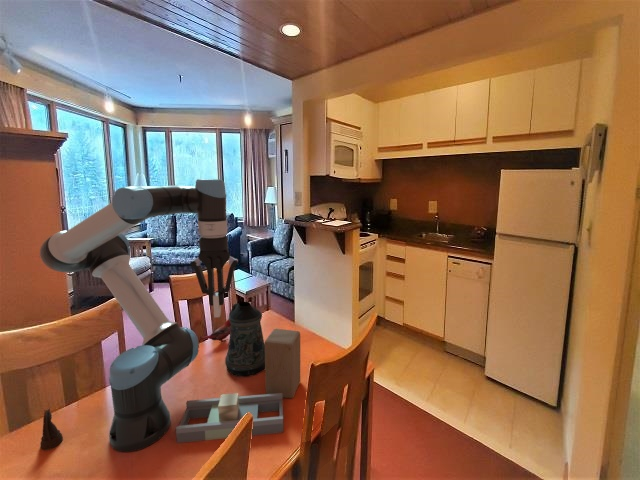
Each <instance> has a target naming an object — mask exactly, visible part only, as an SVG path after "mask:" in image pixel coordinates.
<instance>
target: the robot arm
mask: <svg viewBox="0 0 640 480" xmlns="http://www.w3.org/2000/svg"><path fill="white" fill-rule="evenodd" d="M225 184H226V183H225V181H224V180H222V179H221V178H220V179H214V178H198V179H196V180H195V185H193V186H191V185H174V184H173V185H162V186H161V185H160V186H159V185H157V186H156V185H155V186H154V185H153V186H152V185H150V186H148V185H145V186H144V185H142V186H141V185H140V186H139V185H130V186H122V187H119V188H117V189H116V190H115V191H114V195H112V198H111V202H110V203H109V204H107V205H105V206H104V207H102V208H101V209H99V210H98V211H96V212H94V213H93V214H91V215H89V216H88V217H86V218H85V219H84V220H82V221H80V222H79V223H77V224H76V225H74V226H73V227H71V228H69V229H68V230H61V231H58V232H56V233H54V234H52V235H50V236H49V237H47V239H45V241H44V242H43V243H42V244H41V246H40V249H39V257H40V259H41V261H42V263H43V264H44V265H45V266H46V267H48V268H49V269H51V270H53V271H55V272H59V273H76V272H81V271H84V270H88V271H89V273H90V274H91V275H92V277H94V278H99V279H101V280H102V281H103V283H104V284H105V285H106V287H107V289H109V291H110V292H111V294H112V296H113V297H114V298H115V300H116V301H117V302H118V304H119V305H120V307H121V308H122V309H123V312H124V313H125V315H127V316H128V319H129V320H130V321H131V323H132V324H133V325H134V327H135V328H136V329H137V331H138V332H139V335H141V337H142V338H143V340H142V345H137V346H136V347H131V348H129V349H127V350H124V351H123V352H121V353H120V354H118V355H117V356H116V357H115V359H113V361H112V362H111V364H110V367H109V377H108V378H109V379H108V380H109V381H108V382H109V385H110V390H111V398H112V399H111V400H112V405H113V411H114V412H113V413H114V414H113V417H112V418H113V419H112V422H111V425H110V429H109V434H108V436H109V444H110V447H111V448H112V449H113V450H115V451H117V452H121V453H129V452H135V451H139V450H142V449H144V448H147V447H149V446H151V445H152V444H154V443H156V442H157V441H159V440H160V439H161V438H162V437H163V436H165V434H166V433H167V431H168V430H169V428H170V426H171V413H170V410H169V409H168V407H167V405H166V403H165V401H164V399H163V397H162V386H163V385H164V384H165V383H167V382H168V381H170V380H171V379H172V378H173V377H175V376H176V375H177V374H179V373H180V372H181V371H183V370H184V369H186V368H187V367H188V366H190V364H191V363H193V361H194V360H196V358H197V356H198V354H199V352H200V351H199V348H200V343H199V342H200V341H199V338H198V336H197V334H196V333H195V332H194V331H193V330H192V329H191V328H188V327H185V326H184V327H181V326H180V325H179V324H178V322H176V321H170V320H169V319H168V317H167V316H166V314H165V313H164V312H163V310H162V309H161V307H160V306H159V304H158V303H157V302H156V300H155V299H154V297H153V296H152V295H151V293H150V292H149V290H148V289H147V288H146V286H145V285H144V284H143V282H142V281H141V279H140V278H139V276H138V275H137V273H136V272H135V271H134V269H133V267H131V265H130V261H131V256H130V254H131V247H130V245H131V244H130V242H129V239H128V237H126V236H125V234H123V233H125V232H127V231H128V230H130V229H131V228H133V227H135V226H137V225H138V224H140V223H143V222H144V221H145V220H147V219H150V218H152V217H159V216H167V215H176V214H195V215H196V214H197V227H198V228H197V229H198V235H199V238H198V244H199V253H198V257H197V258H193V259H192V260H191V262H190V264H189V265H190V266H191V267H192V268H193V270H194V272H195V276H196V279H197V281H198V284H199V287H200V290H201V293H202V294H207V295H208V296H209V297H208V299H209V301H208V302H209V305H210V306H212V308H213V318H220V317H221V314H222V306H224V304H225V295H224V294H227V293H229V292H230V289H231V286H232V280H233V276H234V273H235V269H236V268H235V267H236V266H237V265H238V263H239V259H238V258H235V257H233V256H231V253H230V251H229V238H228V236H227V234H228V219H227V193H226V185H225ZM227 262H228V265H229V270H228V273H227V278H226V283H225V284H224V282H225V281H224V266H225V265H226V263H227ZM201 264H203V265H204V266H205V268H206V273H207V281H206V277H205V274H204V272H203V269H202V266H201ZM215 269H216V276H217V277H216V278H217V279H216V280H217V281H216V282H217V292H216V289H215V287H216V286H215ZM224 285H225V286H224Z"/></svg>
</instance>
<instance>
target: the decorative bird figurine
mask: <svg viewBox="0 0 640 480" xmlns="http://www.w3.org/2000/svg"><path fill="white" fill-rule="evenodd" d="M230 330H231V325H230V321H229V318H228V319H227V320H226V321H225V323H224V324H223V325H221V326H220V327H219V328H217V329H216V330H214V331H213V332H212V333H211V334H210V335H207V336H205V335H204V336H203V337H199V339H200V340H203V339H205V340H206V339H208V340H209V339H210V340H212V341H219V342H218V344H221V343H224V342H226V341H227V340H228V341H229V338H228V337H229V336H230ZM226 338H227V339H226Z"/></svg>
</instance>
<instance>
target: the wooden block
mask: <svg viewBox="0 0 640 480" xmlns="http://www.w3.org/2000/svg"><path fill="white" fill-rule="evenodd" d="M264 344H265V370H264V375H265V376H264V377H265V378H264V379H265V394H276V393H282V398H286V399H293V398H294V397H295V394H296V392H297V390H298V388H299V384H301V383H300V382H301V332H300V331H299V330H293V329H292V330H291V329H283V328H273V330H272V331H271V332H270V334H269V335H268V337H266V339H265V340H264Z"/></svg>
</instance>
